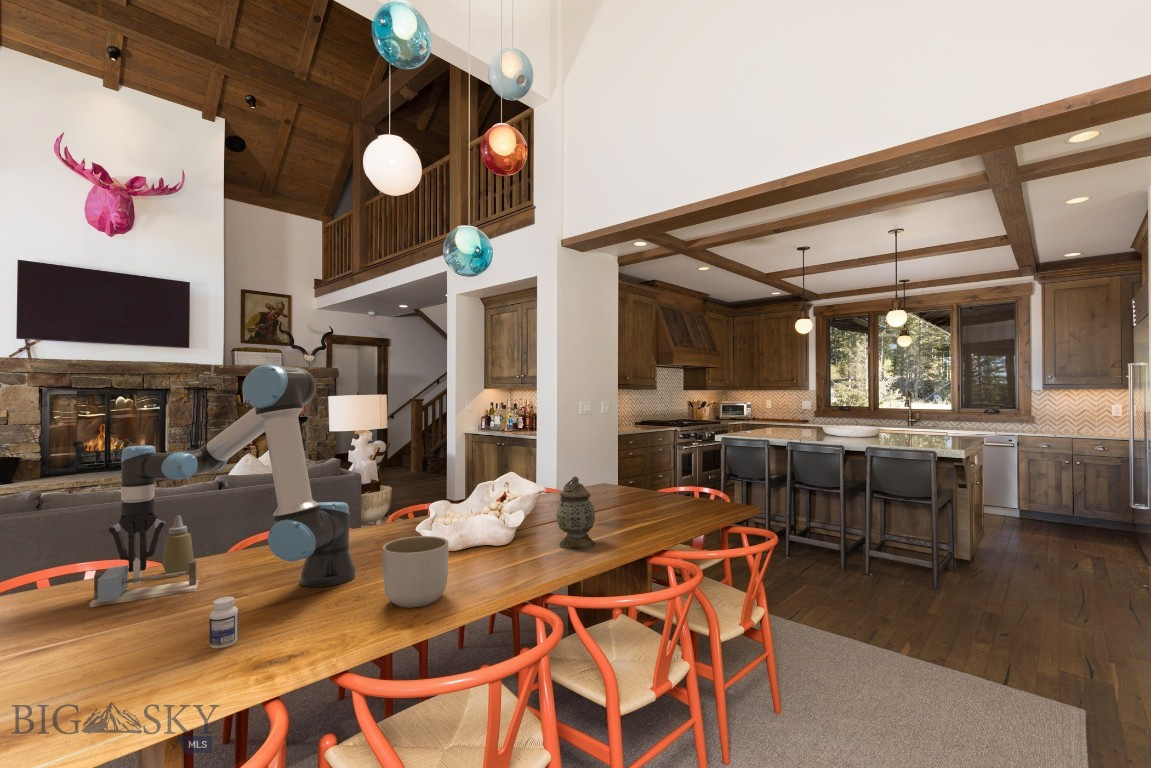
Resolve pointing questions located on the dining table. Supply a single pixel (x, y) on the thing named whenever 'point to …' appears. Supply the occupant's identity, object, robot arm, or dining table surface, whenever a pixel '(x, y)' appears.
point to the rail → (153, 590)
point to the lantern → (575, 516)
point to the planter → (415, 570)
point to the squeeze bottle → (177, 548)
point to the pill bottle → (223, 623)
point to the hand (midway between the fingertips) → (137, 582)
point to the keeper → (112, 583)
